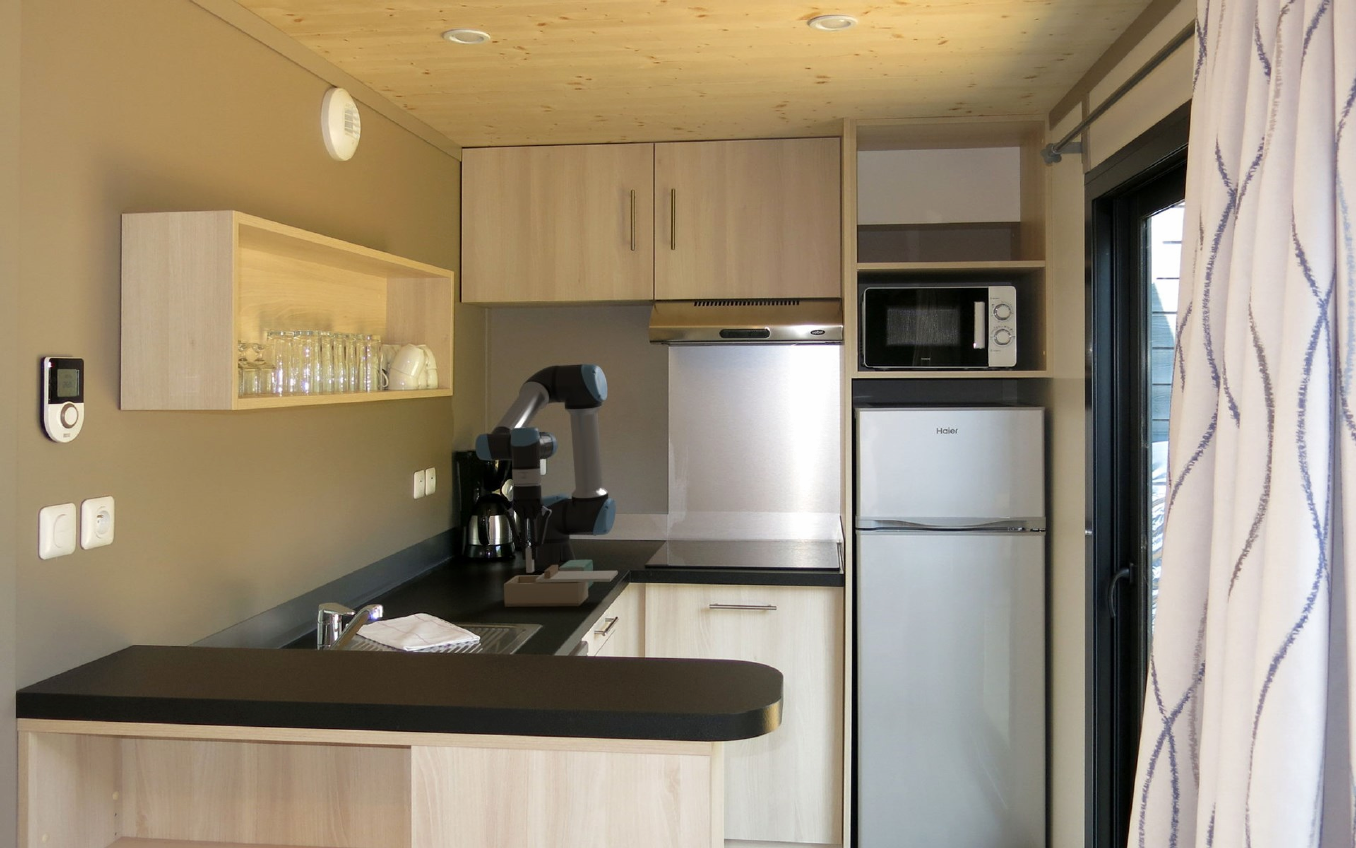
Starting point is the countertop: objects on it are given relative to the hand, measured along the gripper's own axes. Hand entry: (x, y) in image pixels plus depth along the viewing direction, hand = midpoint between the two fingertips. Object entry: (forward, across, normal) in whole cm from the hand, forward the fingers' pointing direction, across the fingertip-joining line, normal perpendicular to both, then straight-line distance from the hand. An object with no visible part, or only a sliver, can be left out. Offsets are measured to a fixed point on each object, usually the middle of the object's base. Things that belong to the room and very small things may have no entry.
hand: (530, 571), depth 274 cm
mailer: (+8, +4, 0) cm, 9 cm away
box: (+9, +9, +18) cm, 21 cm away
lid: (+2, +13, 0) cm, 13 cm away
